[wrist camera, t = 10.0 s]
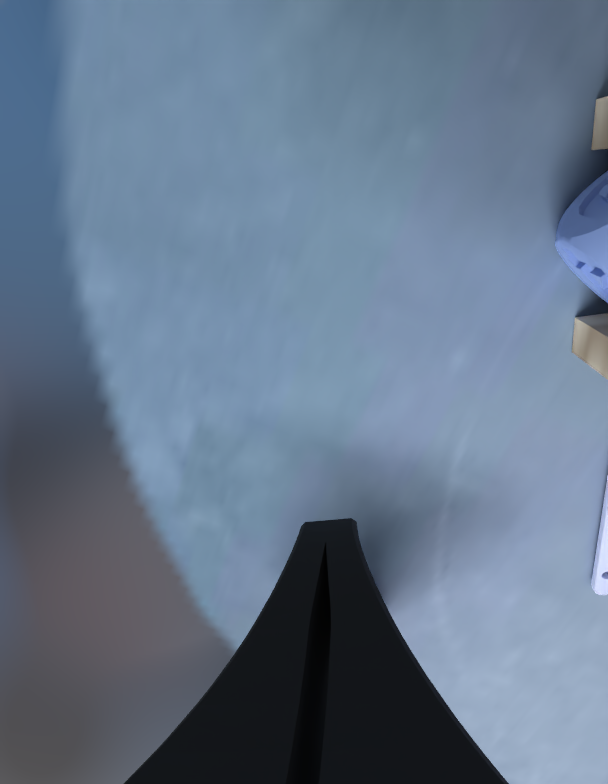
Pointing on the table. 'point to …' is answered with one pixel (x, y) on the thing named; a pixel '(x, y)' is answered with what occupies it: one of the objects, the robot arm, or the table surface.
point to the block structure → (602, 331)
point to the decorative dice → (587, 236)
